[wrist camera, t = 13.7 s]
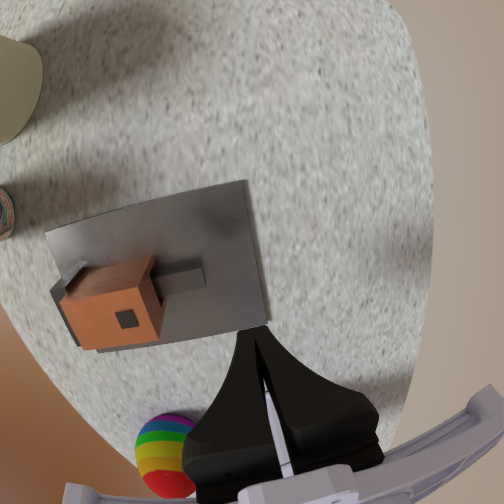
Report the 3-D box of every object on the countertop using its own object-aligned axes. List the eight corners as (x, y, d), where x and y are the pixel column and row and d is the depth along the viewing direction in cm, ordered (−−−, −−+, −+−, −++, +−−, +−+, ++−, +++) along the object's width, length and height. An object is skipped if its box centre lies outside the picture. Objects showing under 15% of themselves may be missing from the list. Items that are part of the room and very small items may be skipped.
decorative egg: (127, 425, 28) (117, 494, 19) (162, 397, 27) (156, 478, 17) (182, 449, 31) (183, 513, 21) (221, 425, 29) (230, 498, 20)
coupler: (266, 321, 25) (276, 350, 21) (99, 350, 23) (87, 379, 20) (240, 180, 20) (248, 188, 16) (47, 231, 19) (22, 248, 15)
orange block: (167, 301, 22) (158, 341, 17) (102, 313, 22) (83, 351, 17) (151, 255, 21) (137, 288, 16) (84, 271, 20) (58, 303, 16)
